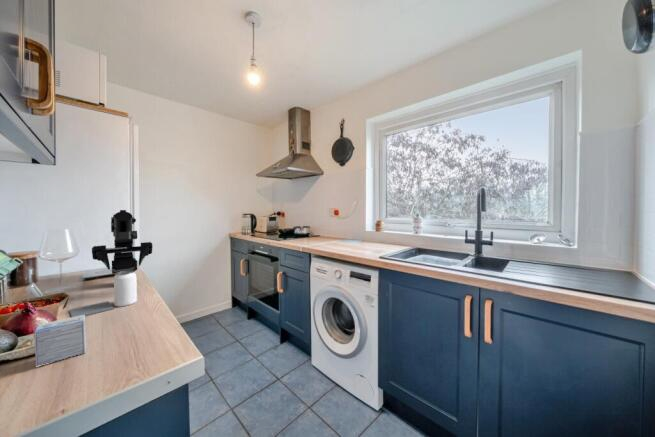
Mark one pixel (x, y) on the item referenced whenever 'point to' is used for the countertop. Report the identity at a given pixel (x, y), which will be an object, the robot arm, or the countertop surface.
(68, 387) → the countertop surface
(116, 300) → the can
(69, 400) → the countertop surface
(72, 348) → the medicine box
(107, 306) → the mat
